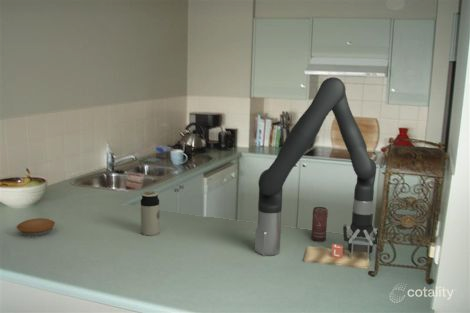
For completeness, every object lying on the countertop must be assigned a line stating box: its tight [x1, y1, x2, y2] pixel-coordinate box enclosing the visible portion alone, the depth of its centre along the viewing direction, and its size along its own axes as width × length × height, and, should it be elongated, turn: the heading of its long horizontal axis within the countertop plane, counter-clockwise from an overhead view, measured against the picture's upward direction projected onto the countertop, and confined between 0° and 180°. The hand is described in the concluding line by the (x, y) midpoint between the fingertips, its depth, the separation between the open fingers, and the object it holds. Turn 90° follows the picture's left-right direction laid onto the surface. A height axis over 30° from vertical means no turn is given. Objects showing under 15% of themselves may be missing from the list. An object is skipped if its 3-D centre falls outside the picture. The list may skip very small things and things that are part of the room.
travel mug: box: [140, 190, 161, 236], centre depth 211 cm, size 8×8×18 cm
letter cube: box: [331, 243, 344, 259], centre depth 187 cm, size 4×4×4 cm
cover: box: [351, 237, 370, 259], centre depth 184 cm, size 6×6×6 cm
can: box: [311, 206, 329, 243], centre depth 206 cm, size 6×6×14 cm
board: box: [303, 245, 370, 270], centre depth 187 cm, size 24×14×1 cm, turn 76°
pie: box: [16, 217, 56, 238], centre depth 210 cm, size 16×16×5 cm
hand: (360, 252), depth 185 cm, fingers closed on cover, 6 cm apart
